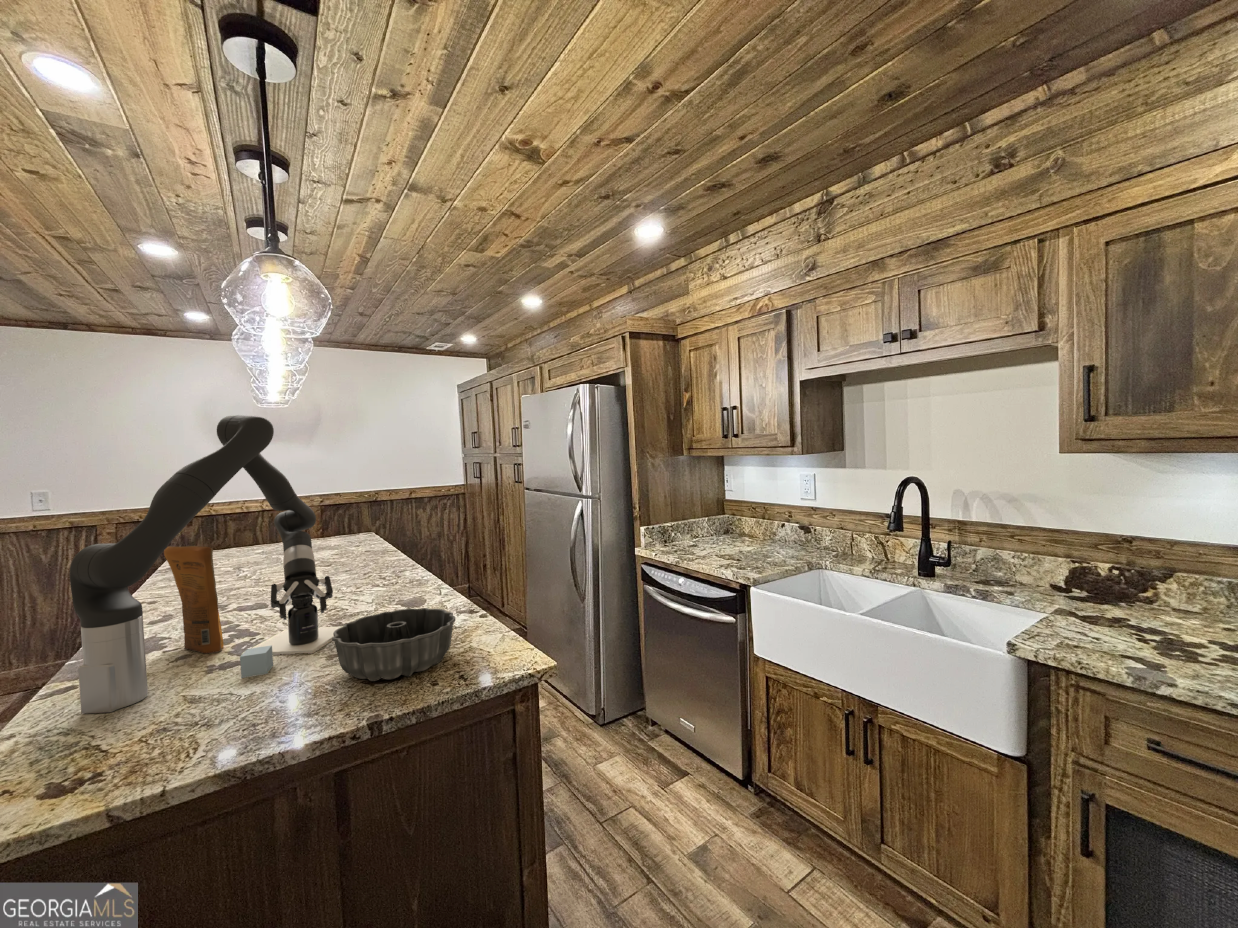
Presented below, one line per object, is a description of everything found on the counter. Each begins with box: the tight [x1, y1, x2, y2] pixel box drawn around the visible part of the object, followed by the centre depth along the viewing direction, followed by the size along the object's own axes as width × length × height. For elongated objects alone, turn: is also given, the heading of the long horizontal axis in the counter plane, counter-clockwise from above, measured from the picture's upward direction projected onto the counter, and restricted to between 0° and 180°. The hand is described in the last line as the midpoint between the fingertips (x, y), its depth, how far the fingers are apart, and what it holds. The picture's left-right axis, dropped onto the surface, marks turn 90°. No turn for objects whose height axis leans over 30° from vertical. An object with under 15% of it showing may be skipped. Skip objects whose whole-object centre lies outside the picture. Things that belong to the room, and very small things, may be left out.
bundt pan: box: [331, 607, 456, 682], centre depth 120 cm, size 26×26×10 cm
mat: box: [240, 625, 344, 656], centre depth 139 cm, size 18×18×1 cm
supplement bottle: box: [287, 594, 319, 645], centre depth 137 cm, size 7×7×12 cm
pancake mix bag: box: [163, 545, 225, 654], centre depth 137 cm, size 7×19×28 cm, turn 63°
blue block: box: [239, 645, 274, 679], centre depth 120 cm, size 5×5×5 cm
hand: (304, 614), depth 136 cm, fingers open, 8 cm apart
